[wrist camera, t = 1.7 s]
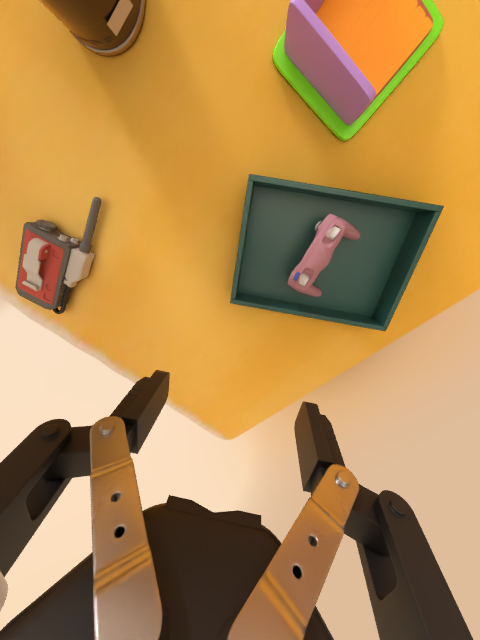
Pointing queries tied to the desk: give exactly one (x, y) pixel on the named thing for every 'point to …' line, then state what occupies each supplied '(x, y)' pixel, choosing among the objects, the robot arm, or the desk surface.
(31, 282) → the walkie-talkie
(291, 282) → the video game controller
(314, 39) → the dollhouse room
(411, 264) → the tray
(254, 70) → the desk surface
